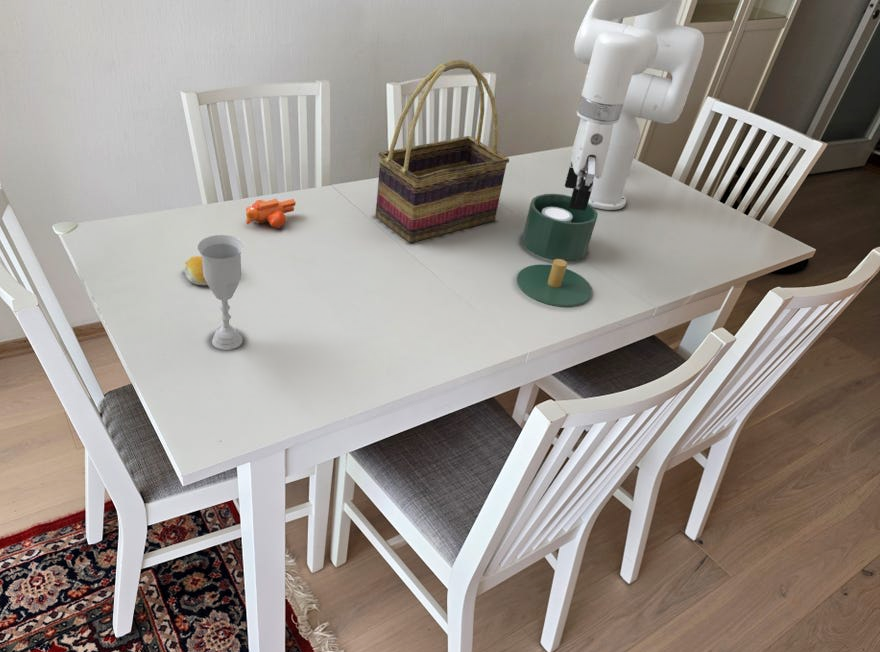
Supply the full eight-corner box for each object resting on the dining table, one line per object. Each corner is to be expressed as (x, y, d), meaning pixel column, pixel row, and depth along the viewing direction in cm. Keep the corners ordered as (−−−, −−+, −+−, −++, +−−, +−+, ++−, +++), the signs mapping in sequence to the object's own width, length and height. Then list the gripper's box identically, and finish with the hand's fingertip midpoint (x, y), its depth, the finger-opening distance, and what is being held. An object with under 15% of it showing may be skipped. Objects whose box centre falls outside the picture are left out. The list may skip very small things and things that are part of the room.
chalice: (209, 327, 117) (201, 233, 106) (249, 328, 118) (245, 236, 107) (203, 353, 111) (194, 257, 100) (245, 354, 112) (241, 259, 101)
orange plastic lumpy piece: (289, 188, 150) (240, 199, 143) (306, 211, 147) (257, 223, 141) (285, 205, 153) (237, 216, 147) (302, 227, 151) (254, 240, 144)
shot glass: (564, 251, 151) (572, 222, 146) (533, 245, 151) (541, 217, 147) (565, 237, 156) (572, 209, 152) (535, 231, 157) (542, 203, 152)
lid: (502, 287, 137) (508, 261, 133) (537, 261, 147) (544, 236, 143) (570, 318, 130) (578, 292, 127) (602, 288, 140) (610, 263, 137)
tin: (510, 246, 151) (519, 206, 145) (540, 225, 161) (549, 187, 155) (568, 270, 145) (580, 230, 139) (596, 247, 154) (608, 209, 149)
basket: (408, 245, 147) (428, 77, 125) (371, 216, 155) (383, 55, 134) (499, 221, 160) (531, 66, 138) (459, 196, 169) (484, 46, 147)
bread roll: (240, 280, 130) (240, 262, 127) (194, 291, 125) (193, 272, 123) (224, 259, 135) (223, 242, 132) (179, 269, 130) (177, 251, 128)
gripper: (628, 128, 114) (599, 220, 125) (614, 97, 128) (589, 183, 138) (583, 121, 114) (558, 214, 125) (574, 91, 128) (552, 178, 138)
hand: (574, 198), depth 132 cm, fingers open, 9 cm apart
